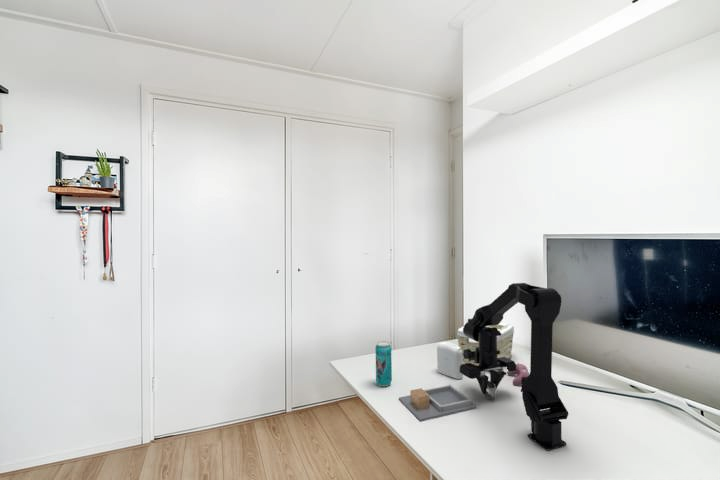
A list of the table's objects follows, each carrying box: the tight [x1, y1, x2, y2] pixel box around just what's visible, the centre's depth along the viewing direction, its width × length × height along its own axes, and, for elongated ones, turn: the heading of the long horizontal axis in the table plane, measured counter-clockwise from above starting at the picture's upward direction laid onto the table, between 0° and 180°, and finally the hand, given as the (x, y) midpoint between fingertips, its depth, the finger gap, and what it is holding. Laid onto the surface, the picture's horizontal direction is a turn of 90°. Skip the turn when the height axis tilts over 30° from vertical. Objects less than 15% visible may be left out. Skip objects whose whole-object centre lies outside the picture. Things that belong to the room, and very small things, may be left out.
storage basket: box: [456, 322, 515, 372], centre depth 143 cm, size 24×16×15 cm
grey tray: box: [398, 384, 477, 422], centre depth 107 cm, size 14×20×5 cm
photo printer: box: [436, 341, 464, 380], centre depth 129 cm, size 10×4×12 cm, turn 39°
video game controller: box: [506, 362, 530, 386], centre depth 123 cm, size 10×5×7 cm, turn 169°
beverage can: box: [375, 340, 393, 387], centre depth 122 cm, size 6×6×15 cm
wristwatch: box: [484, 380, 497, 400], centre depth 110 cm, size 4×6×5 cm, turn 15°
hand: (488, 393), depth 110 cm, fingers closed on wristwatch, 3 cm apart
